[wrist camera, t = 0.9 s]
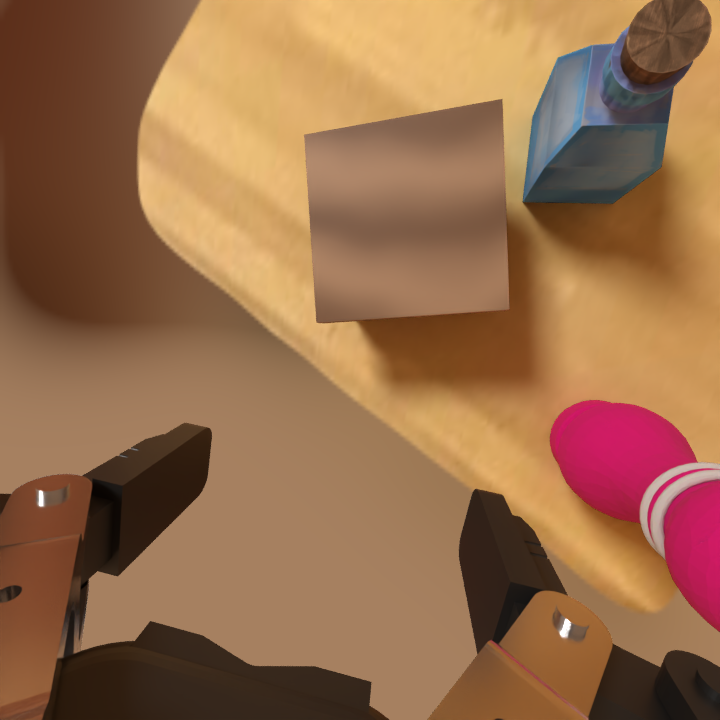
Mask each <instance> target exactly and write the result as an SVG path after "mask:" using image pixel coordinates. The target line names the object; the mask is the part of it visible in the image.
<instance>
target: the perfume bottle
mask: <svg viewBox="0 0 720 720" xmlns="http://www.w3.org/2000/svg"><path fill="white" fill-rule="evenodd" d="M710 34H711V16H710V14H709V12H708V9H707V7H706V6H705V5H704V4H703V3H702V2H701V1H700V0H653V1H651V2H649V3H648V4H647V5H646V6H645V7H643V8H642V9H641V10H640V11H639V12H638V13H637V15H636V16H635V18H634V19H633V21H632V22H631V24H630V26H629V27H628V28H626V29H625V30H624V31H623V32H622V33H621V35H620V36H619V38H618V39H617V41H616V43H615V44H599V45H591V46H588V47H586V48H583V49H580V50H577V51H575V52H572V53H569V54H566V55H564V56H561V57H558V59H557V61H556V63H555V66H554V68H553V70H552V73H551V75H550V77H549V80H548V82H547V84H546V87H545V89H544V91H543V94H542V96H541V98H540V101H539V103H538V105H537V108H536V110H535V112H534V115H533V119H532V127H531V135H530V144H529V152H528V161H527V169H526V178H525V186H524V194H523V202H542V203H609V204H613V203H614V202H616V201H617V200H618V199H620V198H621V197H622V196H624V195H625V194H626V193H628V192H629V191H630V190H632V189H633V188H634V187H636V186H637V185H638V184H640V183H641V182H642V181H644V180H645V179H646V178H648V177H649V176H650V175H652V174H653V173H654V172H656V171H657V170H658V169H660V168H661V167H662V161H663V155H664V148H665V142H666V135H667V129H668V122H669V115H670V109H671V102H672V95H673V89H674V86H675V85H676V84H677V83H678V82H679V81H680V80H681V79H682V78H683V77H684V75H685V74H686V72H687V71H688V70H689V68H690V67H691V65H692V63H693V60H694V59H695V58H696V57H698V56H699V55H700V53H701V52H702V50H703V49H704V48H705V46H706V45H707V43H708V40H709V37H710Z"/></svg>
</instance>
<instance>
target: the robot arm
mask: <svg viewBox="0 0 720 720" xmlns="http://www.w3.org/2000/svg"><path fill="white" fill-rule="evenodd" d="M211 440H212V432H211V430H210V428H207V427H203V426H198V425H194V424H189V423H184V424H181V425H180V426H178V427H177V428H175V429H173V430H171V431H170V432H168V433H167V434H165V435H164V434H162V435H159V436H155V437H152V438H148V439H145V440H144V441H142V442H140V443H138V444H136V445H135V446H133V447H131V449H128V450H126V451H124V452H123V453H121V454H120V455H119V456H116V457H114V458H112V459H111V460H109V461H107V462H105V463H103V464H102V465H100V466H98V467H97V468H95V469H93V470H91V471H90V472H88V473H86V474H84V475H83V476H80V475H74V474H57V475H50V476H46V477H41V478H38V479H35V480H32V481H30V482H27V483H25V484H23V485H21V486H20V487H18V488H17V489H15V490H14V491H13V492H12V494H0V720H389V719H388V718H386V717H385V716H384V715H383V714H381V713H380V712H379V711H377V710H375V709H374V708H372V707H371V706H369V703H370V692H371V682H369V681H366V680H362V679H359V678H355V677H351V676H347V675H344V674H340V673H337V672H333V671H329V670H326V669H322V668H319V667H314V666H313V667H312V666H311V667H309V666H300V667H299V666H252V665H250V664H247V663H246V662H244V661H242V660H241V659H239V658H238V657H236V656H234V655H233V654H231V653H230V652H228V651H226V650H225V649H223V648H222V647H220V646H218V645H217V644H215V643H214V642H212V641H210V640H209V639H207V638H206V637H204V636H202V635H199V634H195V633H191V632H188V631H184V630H180V629H177V628H173V627H170V626H166V625H163V624H159V623H155V622H151V621H150V622H149V624H148V625H147V626H146V627H145V629H144V630H143V631H142V633H141V634H140V635H139V636H138V638H137V639H136V640H135V641H125V642H116V643H110V644H105V645H100V646H96V647H93V648H89V649H86V650H83V651H81V644H82V637H83V629H84V621H85V614H86V605H87V599H88V591H89V578H90V577H91V576H92V575H94V574H95V573H96V572H97V571H99V572H103V573H107V574H111V575H114V576H119V575H120V574H121V573H122V572H123V571H124V570H125V569H126V568H127V567H128V566H129V565H130V564H131V563H132V562H133V561H134V560H135V559H136V558H137V557H138V556H139V555H140V554H141V553H142V552H143V551H144V550H145V549H146V548H147V547H148V546H149V545H150V544H151V543H152V542H153V541H154V540H155V539H156V538H157V537H158V536H159V535H160V534H161V533H162V532H163V531H164V530H165V529H166V528H167V527H168V526H169V525H170V524H171V523H172V522H173V521H174V520H175V519H176V518H177V517H178V516H179V515H180V514H181V513H182V512H183V511H184V510H185V509H186V508H187V507H188V506H189V505H190V504H191V503H192V502H193V501H194V500H195V499H196V498H197V497H198V496H199V495H200V493H201V492H202V490H203V488H204V486H205V483H206V481H207V476H208V468H209V459H210V449H211ZM459 560H460V566H461V571H462V576H463V581H464V587H465V592H466V597H467V601H468V607H469V612H470V618H471V623H472V628H473V633H474V638H475V643H476V648H477V654H478V655H477V656H476V657H475V659H474V660H473V662H472V663H471V664H470V665H469V667H468V668H467V669H466V670H465V672H464V673H463V674H462V676H461V677H460V678H459V679H458V681H457V682H456V683H455V685H454V686H453V687H452V688H451V690H450V691H449V693H448V694H447V695H446V696H445V698H444V699H443V700H442V701H441V703H440V704H439V705H438V706H437V708H436V709H435V710H434V712H433V713H432V714H431V715H430V717H429V718H428V719H427V720H720V667H718V666H717V665H715V664H713V663H712V662H710V661H708V660H706V659H704V658H702V657H700V656H697V655H695V654H692V653H689V652H685V651H679V650H675V651H670V652H668V653H667V655H666V656H665V658H664V660H663V663H662V665H661V667H658V666H656V665H654V664H652V663H650V662H648V661H646V660H644V659H642V658H640V657H638V656H636V655H634V654H632V653H630V652H628V651H626V650H623V649H621V648H620V647H618V646H616V645H614V644H613V643H612V638H611V635H610V633H609V631H608V629H607V627H606V626H605V625H604V623H603V622H602V621H601V620H600V619H599V618H598V616H596V615H595V614H594V613H593V612H592V611H591V610H590V609H589V608H587V607H586V606H584V605H583V604H581V603H580V602H579V601H577V600H575V599H573V598H571V597H569V596H568V595H567V593H566V591H565V589H564V587H563V585H562V583H561V581H560V579H559V578H558V576H557V574H556V572H555V570H554V568H553V566H552V564H551V562H550V560H549V559H547V555H546V553H545V551H544V549H543V547H541V543H540V541H539V539H538V537H537V536H536V534H535V532H534V530H533V529H532V528H531V527H530V526H529V525H528V524H527V523H526V522H525V521H524V520H523V519H522V518H521V517H518V516H514V515H512V513H511V511H510V509H509V507H508V505H507V503H506V501H505V498H504V496H503V495H501V494H497V493H492V492H488V491H483V490H479V489H475V490H474V491H473V493H472V496H471V500H470V504H469V507H468V511H467V515H466V519H465V522H464V526H463V530H462V533H461V538H460V544H459Z"/></svg>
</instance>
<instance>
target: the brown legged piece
mask: <svg viewBox="0 0 720 720" xmlns="http://www.w3.org/2000/svg"><path fill="white" fill-rule="evenodd" d="M304 138H305V153H306V168H307V184H308V199H309V214H310V229H311V245H312V260H313V275H314V291H315V306H316V321H317V323H335V322H349V321H364V320H379V319H393V318H408V317H423V316H437V315H452V314H467V313H482V312H496V311H506V310H509V281H508V251H507V222H506V193H505V163H504V134H503V105H502V99H500V100H494V101H489V102H483V103H478V104H472V105H467V106H461V107H456V108H450V109H445V110H439V111H433V112H428V113H422V114H417V115H411V116H406V117H400V118H395V119H389V120H384V121H378V122H372V123H367V124H361V125H356V126H350V127H345V128H339V129H334V130H328V131H323V132H317V133H312V134H306V135H304Z"/></svg>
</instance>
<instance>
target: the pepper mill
mask: <svg viewBox="0 0 720 720" xmlns="http://www.w3.org/2000/svg"><path fill="white" fill-rule="evenodd" d="M550 446H551V450H552V453H553V456H554V457H555V459H556V461H557V462H558V463H559V466H560V469H561V472H562V475H563V477H564V479H565V481H566V482H567V484H568V485H569V486H570V488H571V489H572V490H573V491H574V492H575V493H576V494H577V495H578V496H579V497H580V498H581V499H582V500H584V501H585V502H586V503H587V504H589V505H590V506H591V507H593V508H595V509H597V510H599V511H601V512H602V513H605V514H607V515H609V516H612V517H614V518H617V519H621V520H625V521H631V522H637V523H640V524H641V528H642V530H643V533H644V535H645V537H646V539H647V541H648V542H649V544H650V545H651V546H652V548H653V549H654V550H655V551H656V552H657V553H658V554H659V555H661V556H662V557H663V559H664V560H665V561H666V563H667V565H668V568H669V571H670V574H671V576H672V579H673V581H674V582H675V584H676V585H677V587H678V588H679V590H680V591H681V593H682V594H683V596H684V597H685V599H686V600H687V601H688V602H689V604H690V605H691V606H692V607H693V608H694V609H695V610H696V611H697V612H698V613H699V614H700V615H701V616H702V617H703V618H704V619H705V620H706V621H707V622H708V623H709V624H710V625H712V626H713V627H714V628H715V629H717V630H718V631H719V632H720V464H716V463H706V462H697V460H696V457H695V455H694V453H693V451H692V449H691V447H690V445H689V444H688V442H687V440H686V438H685V437H684V436H683V435H682V434H681V433H680V432H679V430H678V429H677V428H676V427H675V426H673V425H672V424H671V423H670V422H669V421H667V420H666V419H664V418H663V417H661V416H659V415H658V414H656V413H654V412H652V411H650V410H648V409H645V408H643V407H639V406H636V405H631V404H624V403H610V402H606V401H600V400H589V401H583V402H580V403H577V404H574V405H572V406H571V407H569V408H567V409H566V410H564V411H563V412H562V413H561V414H560V415H559V416H558V418H557V419H556V421H555V422H554V424H553V427H552V429H551V434H550Z"/></svg>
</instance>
